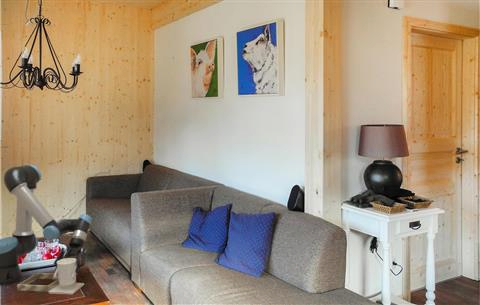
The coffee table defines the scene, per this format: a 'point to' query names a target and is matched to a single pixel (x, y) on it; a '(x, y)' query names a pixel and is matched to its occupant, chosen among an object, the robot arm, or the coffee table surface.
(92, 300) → the coffee table surface
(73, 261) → the candle holder
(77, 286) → the coaster
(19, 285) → the birch frame
